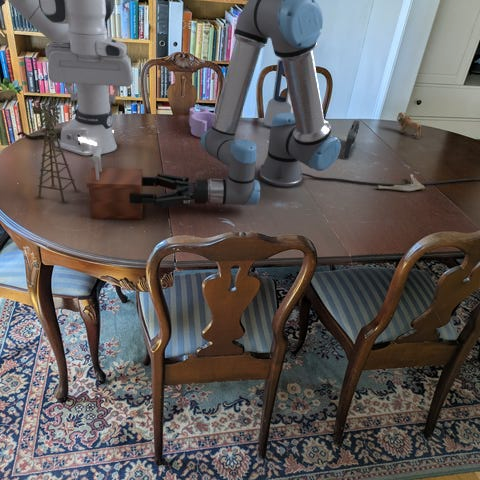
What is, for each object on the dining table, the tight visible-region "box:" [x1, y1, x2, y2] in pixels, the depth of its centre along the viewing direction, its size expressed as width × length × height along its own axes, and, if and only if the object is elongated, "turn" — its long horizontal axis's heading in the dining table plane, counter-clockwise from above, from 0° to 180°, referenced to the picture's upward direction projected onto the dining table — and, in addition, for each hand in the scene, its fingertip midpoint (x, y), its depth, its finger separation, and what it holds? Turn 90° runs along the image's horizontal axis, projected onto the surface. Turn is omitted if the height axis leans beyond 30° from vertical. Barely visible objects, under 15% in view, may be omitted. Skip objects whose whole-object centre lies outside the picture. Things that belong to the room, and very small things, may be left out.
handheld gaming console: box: [342, 119, 361, 159], centre depth 194 cm, size 23×3×10 cm, turn 161°
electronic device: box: [263, 58, 293, 128], centre depth 205 cm, size 12×8×30 cm, turn 71°
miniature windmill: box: [31, 95, 78, 203], centre depth 135 cm, size 9×8×30 cm
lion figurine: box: [396, 111, 424, 139], centre depth 219 cm, size 15×5×9 cm, turn 50°
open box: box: [88, 172, 144, 220], centre depth 136 cm, size 14×10×10 cm
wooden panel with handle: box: [86, 147, 144, 189], centre depth 131 cm, size 14×10×9 cm
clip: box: [188, 106, 216, 138], centre depth 199 cm, size 20×12×7 cm, turn 23°
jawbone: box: [376, 173, 426, 193], centre depth 169 cm, size 9×20×2 cm, turn 126°
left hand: (93, 101), depth 120 cm, fingers open, 8 cm apart
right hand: (131, 189), depth 135 cm, fingers closed on open box, 10 cm apart
